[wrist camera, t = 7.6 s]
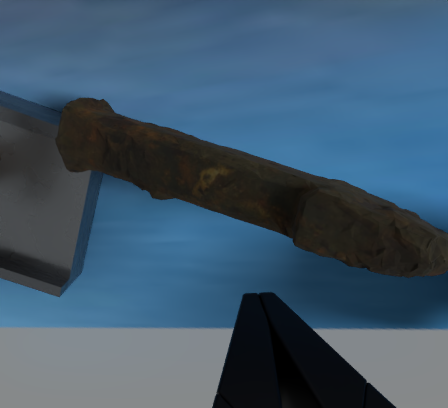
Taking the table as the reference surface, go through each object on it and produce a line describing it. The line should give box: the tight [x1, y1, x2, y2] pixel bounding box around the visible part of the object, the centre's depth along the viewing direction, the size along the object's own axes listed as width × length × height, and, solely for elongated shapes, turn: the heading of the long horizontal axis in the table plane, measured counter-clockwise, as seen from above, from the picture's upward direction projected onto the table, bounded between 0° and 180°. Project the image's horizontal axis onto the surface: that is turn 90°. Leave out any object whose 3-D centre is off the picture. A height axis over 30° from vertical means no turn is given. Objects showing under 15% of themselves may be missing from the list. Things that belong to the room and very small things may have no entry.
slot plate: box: [0, 91, 103, 297], centre depth 21 cm, size 10×11×3 cm
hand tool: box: [55, 98, 448, 278], centre depth 15 cm, size 19×4×5 cm, turn 75°
